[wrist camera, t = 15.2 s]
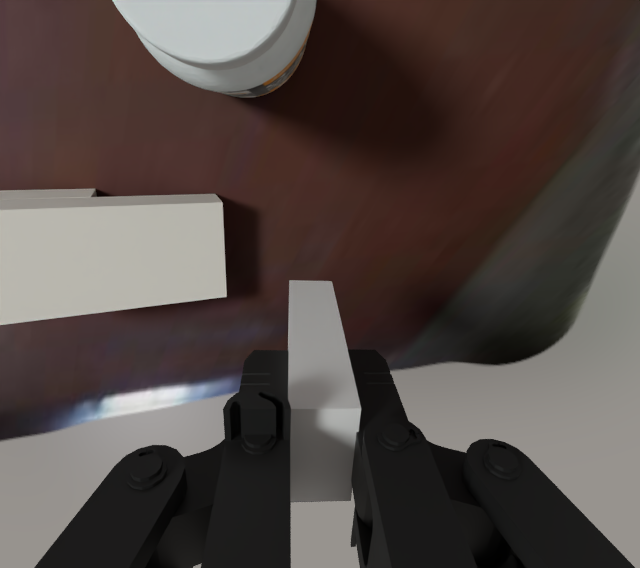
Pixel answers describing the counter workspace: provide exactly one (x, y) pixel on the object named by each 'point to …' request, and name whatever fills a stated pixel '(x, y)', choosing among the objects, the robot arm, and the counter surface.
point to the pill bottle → (224, 40)
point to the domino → (108, 254)
